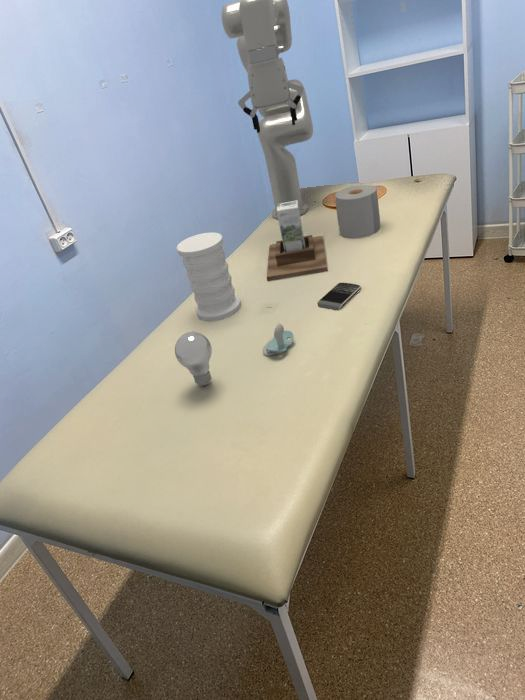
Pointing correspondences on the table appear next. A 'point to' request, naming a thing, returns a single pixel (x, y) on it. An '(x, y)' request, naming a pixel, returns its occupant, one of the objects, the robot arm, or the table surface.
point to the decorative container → (209, 276)
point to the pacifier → (278, 341)
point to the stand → (296, 259)
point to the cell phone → (338, 296)
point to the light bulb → (195, 356)
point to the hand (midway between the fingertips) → (276, 128)
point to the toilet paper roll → (358, 211)
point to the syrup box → (291, 226)
